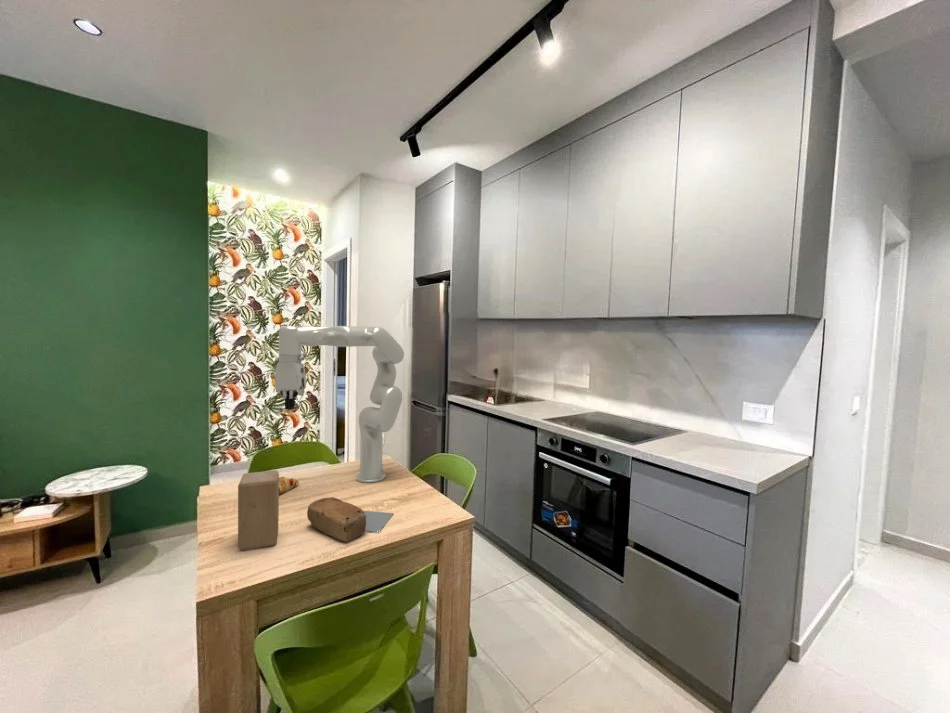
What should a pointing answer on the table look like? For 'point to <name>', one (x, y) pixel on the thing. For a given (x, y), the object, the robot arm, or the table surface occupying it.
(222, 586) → the table surface
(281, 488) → the croissant
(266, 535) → the wooden block
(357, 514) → the brown rounded lump
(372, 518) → the mat
